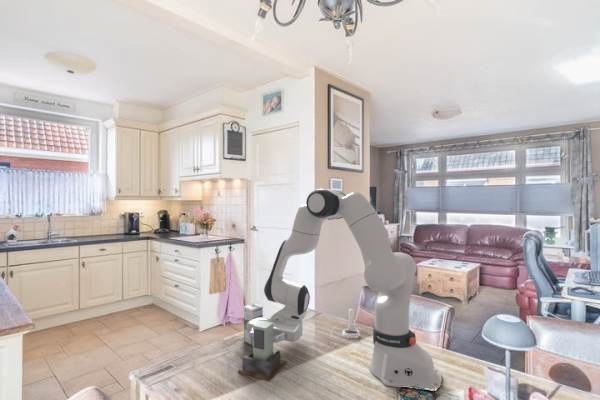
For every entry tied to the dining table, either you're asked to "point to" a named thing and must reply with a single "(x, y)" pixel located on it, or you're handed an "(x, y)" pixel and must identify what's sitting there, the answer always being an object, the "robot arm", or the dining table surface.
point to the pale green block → (263, 340)
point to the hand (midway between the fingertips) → (262, 337)
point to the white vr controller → (351, 327)
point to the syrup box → (251, 318)
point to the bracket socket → (262, 366)
